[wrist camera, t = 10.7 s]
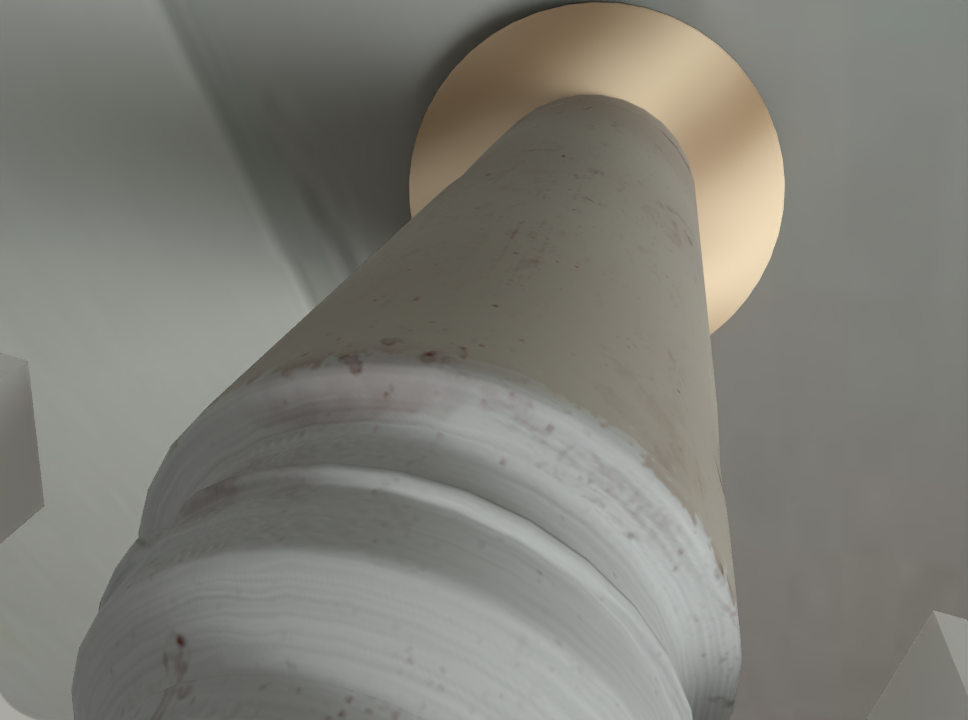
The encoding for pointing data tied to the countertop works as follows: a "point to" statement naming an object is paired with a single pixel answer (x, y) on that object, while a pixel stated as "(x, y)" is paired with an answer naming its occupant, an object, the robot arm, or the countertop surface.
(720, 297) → the pad
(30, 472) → the robot arm
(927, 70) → the countertop surface
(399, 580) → the thermos bottle
